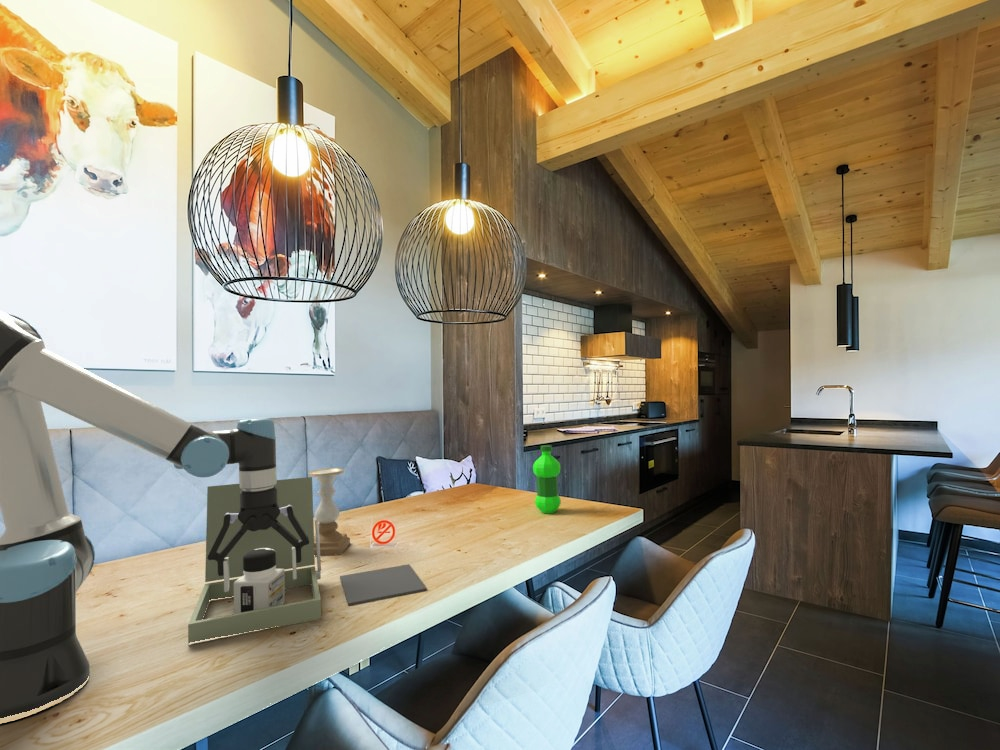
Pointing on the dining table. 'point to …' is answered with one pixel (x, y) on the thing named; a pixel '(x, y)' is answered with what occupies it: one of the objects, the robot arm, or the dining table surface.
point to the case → (259, 617)
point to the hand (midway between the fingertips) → (261, 583)
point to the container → (259, 582)
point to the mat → (381, 584)
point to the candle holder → (328, 514)
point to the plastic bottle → (547, 481)
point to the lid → (229, 501)
